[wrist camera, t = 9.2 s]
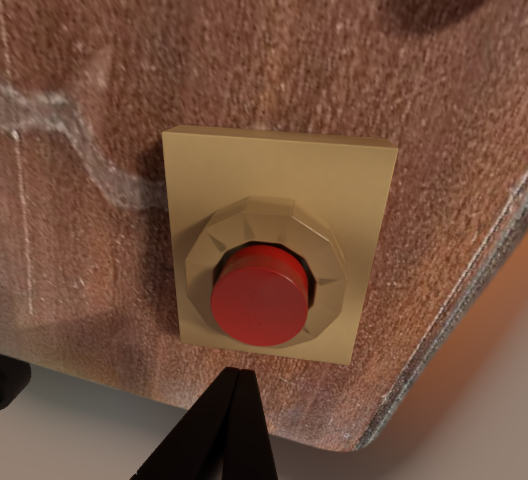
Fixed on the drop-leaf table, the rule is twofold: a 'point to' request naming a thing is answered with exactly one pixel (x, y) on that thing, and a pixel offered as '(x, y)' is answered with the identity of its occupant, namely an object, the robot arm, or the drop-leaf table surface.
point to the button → (261, 296)
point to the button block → (276, 224)
